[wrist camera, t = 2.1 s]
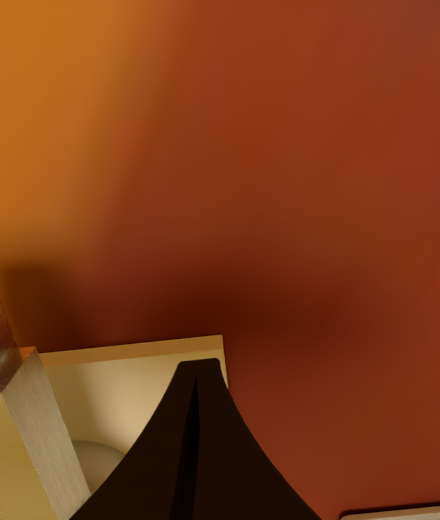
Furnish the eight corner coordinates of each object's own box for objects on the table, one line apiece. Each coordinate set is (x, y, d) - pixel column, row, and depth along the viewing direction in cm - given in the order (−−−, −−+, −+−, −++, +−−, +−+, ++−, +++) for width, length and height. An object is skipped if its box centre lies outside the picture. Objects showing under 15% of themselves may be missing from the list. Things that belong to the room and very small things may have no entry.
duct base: (245, 531, 21) (251, 603, 18) (-40, 560, 21) (-81, 636, 18) (221, 334, 15) (225, 389, 12) (-163, 374, 15) (-253, 438, 12)
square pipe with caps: (159, 563, 17) (149, 660, 14) (17, 577, 17) (-23, 677, 14) (79, 283, 11) (31, 347, 8) (-139, 306, 11) (-266, 378, 8)
